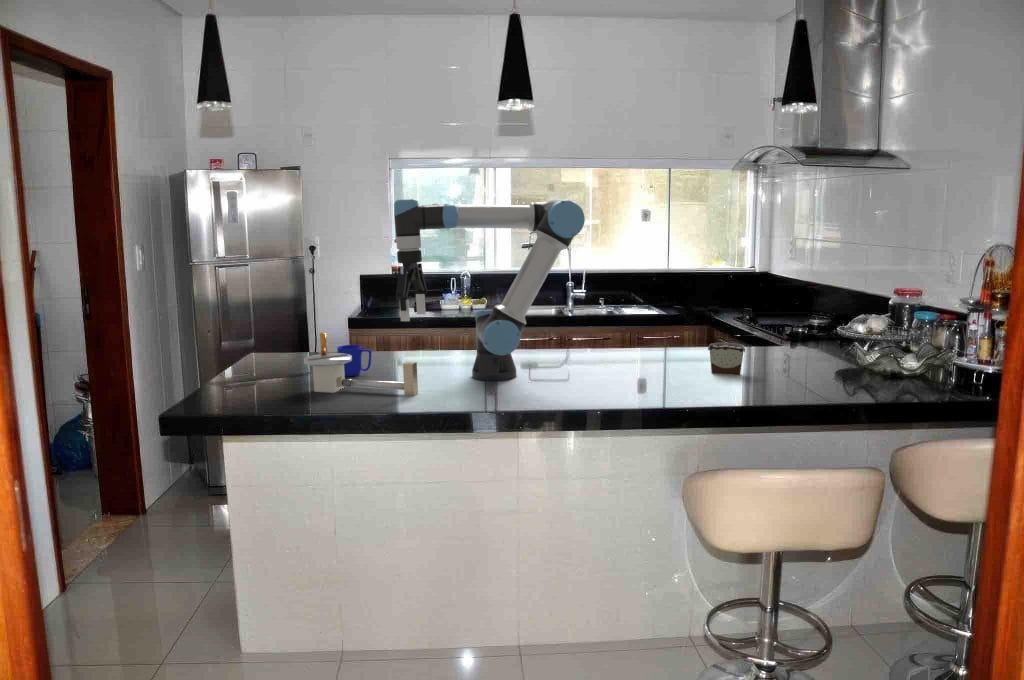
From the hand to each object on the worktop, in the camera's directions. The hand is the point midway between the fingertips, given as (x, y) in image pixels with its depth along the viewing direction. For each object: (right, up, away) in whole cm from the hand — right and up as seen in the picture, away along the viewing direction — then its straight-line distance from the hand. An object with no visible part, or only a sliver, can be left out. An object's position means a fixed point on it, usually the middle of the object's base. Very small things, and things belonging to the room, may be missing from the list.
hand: (413, 317), depth 246 cm
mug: (-24, -19, +27) cm, 41 cm away
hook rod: (-11, -24, +2) cm, 26 cm away
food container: (+104, -18, +20) cm, 107 cm away
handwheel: (-28, -14, +5) cm, 32 cm away
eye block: (-28, -23, +7) cm, 37 cm away
